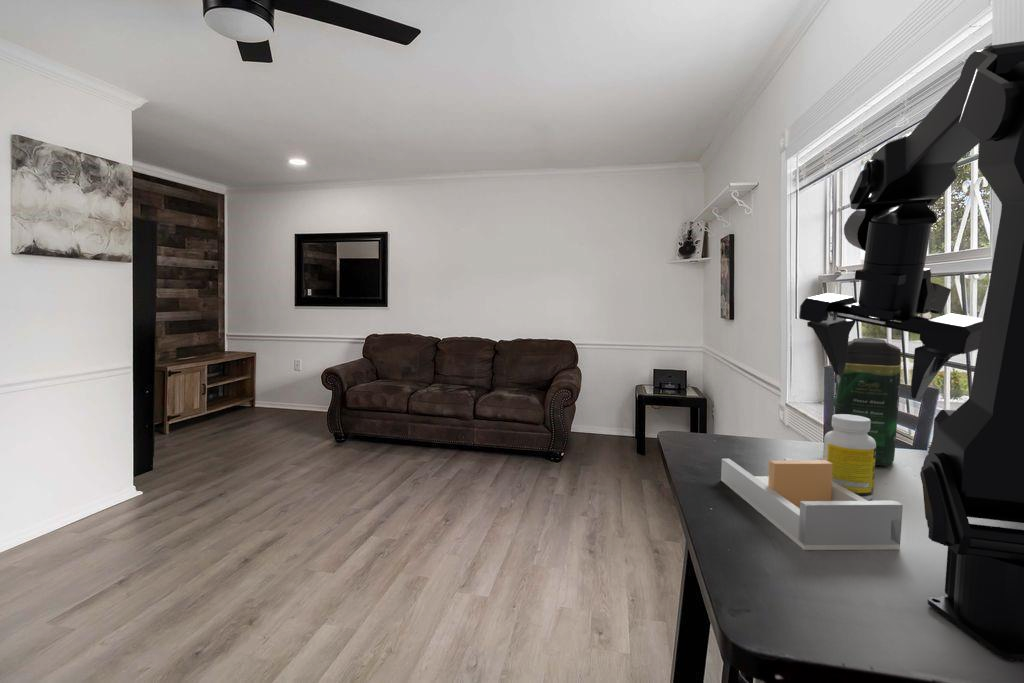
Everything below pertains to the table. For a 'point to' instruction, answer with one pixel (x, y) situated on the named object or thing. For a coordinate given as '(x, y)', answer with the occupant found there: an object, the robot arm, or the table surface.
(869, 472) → the supplement bottle
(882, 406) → the coffee jar
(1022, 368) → the robot arm
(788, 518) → the lane
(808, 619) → the table surface
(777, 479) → the pusher
